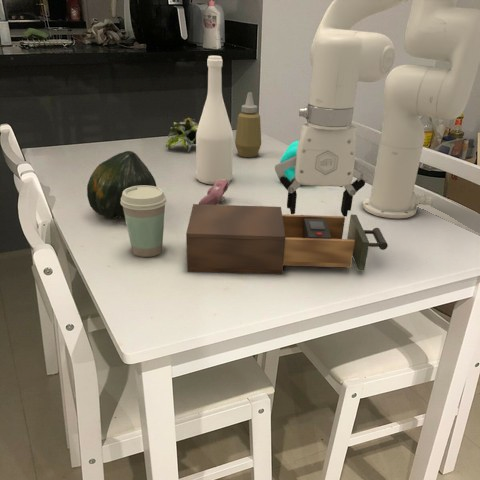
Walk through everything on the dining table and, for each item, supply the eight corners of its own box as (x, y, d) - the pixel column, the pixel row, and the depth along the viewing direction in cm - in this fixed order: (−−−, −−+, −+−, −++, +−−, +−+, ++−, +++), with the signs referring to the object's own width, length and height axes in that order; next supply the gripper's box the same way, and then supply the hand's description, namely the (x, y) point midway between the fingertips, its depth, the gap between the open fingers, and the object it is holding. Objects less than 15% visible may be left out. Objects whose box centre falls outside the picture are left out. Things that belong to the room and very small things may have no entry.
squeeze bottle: (231, 152, 166) (232, 90, 157) (255, 151, 169) (258, 89, 159) (239, 159, 160) (240, 95, 150) (264, 158, 162) (267, 94, 152)
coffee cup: (148, 238, 110) (144, 181, 104) (177, 250, 106) (175, 191, 99) (116, 251, 105) (109, 191, 98) (145, 264, 100) (141, 203, 94)
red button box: (322, 239, 107) (325, 217, 105) (328, 259, 100) (331, 236, 97) (302, 238, 107) (304, 217, 105) (306, 258, 100) (308, 235, 97)
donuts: (277, 184, 142) (280, 146, 136) (284, 173, 150) (286, 136, 145) (315, 188, 140) (319, 149, 135) (319, 176, 148) (323, 140, 143)
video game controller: (212, 217, 125) (226, 193, 121) (195, 207, 124) (208, 182, 120) (222, 203, 133) (235, 179, 129) (206, 193, 132) (219, 169, 128)
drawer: (373, 241, 110) (378, 215, 107) (388, 271, 99) (394, 243, 95) (272, 238, 110) (274, 211, 107) (275, 268, 98) (277, 239, 95)
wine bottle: (237, 183, 141) (240, 58, 125) (203, 187, 138) (202, 59, 122) (224, 173, 148) (226, 53, 132) (192, 176, 145) (189, 54, 129)
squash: (69, 186, 120) (89, 144, 108) (126, 175, 129) (149, 135, 117) (98, 240, 118) (121, 203, 106) (153, 225, 127) (179, 190, 116)
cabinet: (278, 241, 111) (281, 206, 107) (282, 274, 98) (285, 236, 94) (193, 239, 111) (193, 203, 106) (187, 271, 98) (186, 233, 94)
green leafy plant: (190, 163, 174) (210, 131, 171) (192, 166, 164) (214, 132, 161) (160, 142, 170) (180, 109, 167) (161, 145, 160) (182, 109, 157)
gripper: (279, 119, 87) (272, 218, 96) (385, 123, 87) (368, 222, 96) (277, 110, 93) (270, 204, 102) (376, 114, 93) (360, 207, 102)
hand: (318, 212), depth 99 cm, fingers open, 9 cm apart
